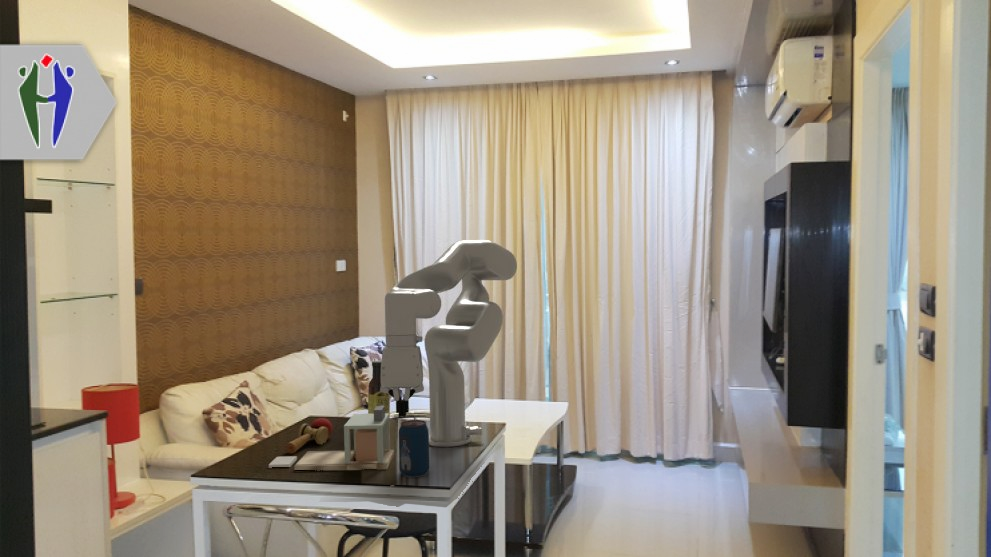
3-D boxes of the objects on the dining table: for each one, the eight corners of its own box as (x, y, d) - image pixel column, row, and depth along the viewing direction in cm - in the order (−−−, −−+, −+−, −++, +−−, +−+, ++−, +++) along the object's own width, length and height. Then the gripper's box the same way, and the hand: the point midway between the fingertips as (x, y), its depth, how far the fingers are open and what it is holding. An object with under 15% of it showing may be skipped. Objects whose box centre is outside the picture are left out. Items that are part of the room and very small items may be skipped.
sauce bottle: (380, 432, 215) (378, 363, 214) (363, 430, 218) (362, 362, 218) (395, 427, 220) (393, 360, 220) (379, 425, 224) (377, 359, 223)
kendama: (307, 459, 193) (341, 433, 210) (300, 436, 193) (336, 412, 209) (282, 462, 196) (318, 436, 213) (275, 439, 195) (312, 415, 212)
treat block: (380, 459, 187) (379, 427, 187) (376, 465, 182) (376, 432, 182) (360, 459, 187) (359, 427, 187) (356, 465, 182) (355, 432, 182)
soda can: (430, 469, 178) (429, 419, 178) (428, 478, 171) (427, 425, 171) (401, 469, 178) (400, 419, 177) (398, 478, 171) (396, 426, 170)
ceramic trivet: (297, 459, 188) (296, 456, 188) (289, 467, 181) (289, 464, 181) (277, 459, 188) (277, 456, 188) (268, 467, 181) (268, 464, 181)
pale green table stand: (390, 448, 191) (389, 402, 191) (382, 462, 178) (381, 413, 178) (354, 448, 191) (353, 403, 191) (344, 463, 178) (343, 414, 178)
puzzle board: (394, 454, 191) (394, 449, 191) (386, 469, 178) (386, 464, 178) (307, 456, 191) (307, 451, 191) (294, 471, 178) (294, 465, 178)
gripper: (432, 339, 188) (434, 412, 188) (372, 340, 187) (374, 413, 188) (430, 342, 180) (431, 418, 181) (368, 343, 180) (369, 419, 181)
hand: (402, 415), depth 184 cm, fingers closed
